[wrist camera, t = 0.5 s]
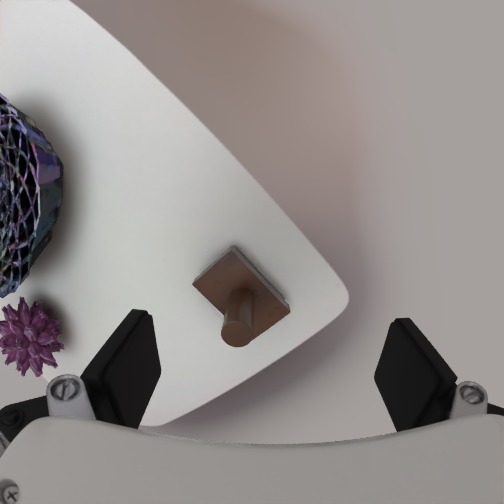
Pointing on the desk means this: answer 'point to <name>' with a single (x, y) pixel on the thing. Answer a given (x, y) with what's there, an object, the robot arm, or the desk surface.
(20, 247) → the decorative bowl
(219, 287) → the stamp
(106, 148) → the desk surface
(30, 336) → the flower
